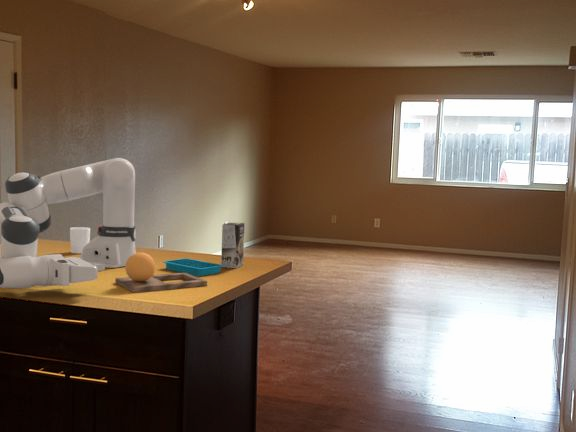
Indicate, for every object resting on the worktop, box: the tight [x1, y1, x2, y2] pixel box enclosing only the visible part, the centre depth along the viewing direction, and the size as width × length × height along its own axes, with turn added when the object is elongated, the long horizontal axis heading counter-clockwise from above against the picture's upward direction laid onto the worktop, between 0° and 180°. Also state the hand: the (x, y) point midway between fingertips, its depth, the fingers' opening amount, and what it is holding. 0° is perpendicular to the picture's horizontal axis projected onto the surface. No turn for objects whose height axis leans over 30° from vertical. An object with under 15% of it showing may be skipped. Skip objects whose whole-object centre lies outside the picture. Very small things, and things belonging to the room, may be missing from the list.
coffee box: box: [220, 222, 245, 269], centre depth 236 cm, size 9×6×16 cm
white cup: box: [69, 226, 91, 255], centre depth 256 cm, size 8×8×10 cm
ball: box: [124, 251, 156, 282], centre depth 195 cm, size 9×9×9 cm
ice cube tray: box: [163, 258, 223, 277], centre depth 225 cm, size 12×20×3 cm, turn 51°
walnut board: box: [114, 272, 208, 293], centre depth 199 cm, size 24×16×2 cm, turn 124°
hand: (103, 266), depth 188 cm, fingers closed
